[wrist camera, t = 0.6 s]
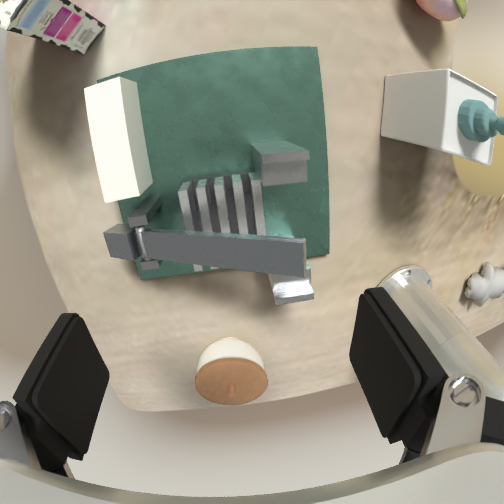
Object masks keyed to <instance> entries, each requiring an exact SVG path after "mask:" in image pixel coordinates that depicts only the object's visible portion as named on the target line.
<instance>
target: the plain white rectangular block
mask: <svg viewBox="0 0 504 504" xmlns="http://www.w3.org/2000/svg"><path fill="white" fill-rule="evenodd" d="M84 93H85V101H86V109H87V116H88V122H89V128H90V134H91V140H92V146H93V151H94V156H95V161H96V166H97V171H98V175H99V180H100V184H101V188H102V192H103V196H104V200H105V203H108V202H113V201H117V200H122V199H127V198H132V197H136V196H140V195H141V194H142V193H143V192H144V191H145V190H146V189H147V188H148V187H149V186H150V185H151V184H152V183H153V180H152V175H151V170H150V164H149V159H148V154H147V148H146V142H145V136H144V130H143V124H142V117H141V110H140V103H139V96H138V88H137V82H134V81H131V80H128V79H125V78H122V77H117V78H113V79H110V80H107V81H104V82H101V83H98V84H95V85H92V86H90V87H87V88H84Z"/></svg>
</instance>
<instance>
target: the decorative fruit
mask: <svg viewBox="0 0 504 504" xmlns="http://www.w3.org/2000/svg"><path fill="white" fill-rule="evenodd" d="M416 2H417V4H418V5H419V6H420V7H421V8H422V9H423V10H424V11H425V12H427V13H428V14H429V15H431V16H432V17H434V18H436V19H439V20H442V21H451V20H454V19H457V18H459V17H460V16H461V17H462V19H463V18H464V16H465V15H466V12H467V6H468V0H416Z"/></svg>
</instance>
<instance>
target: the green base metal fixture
mask: <svg viewBox="0 0 504 504" xmlns="http://www.w3.org/2000/svg"><path fill="white" fill-rule="evenodd" d="M117 77H122V78H125V79H128V80H131V81H134V82H137V88H138V96H139V103H140V110H141V117H142V124H143V130H144V136H145V142H146V148H147V154H148V159H149V164H150V170H151V175H152V180H153V183H152V184H151V185H150V186H149V187H148V188H147V189H146V190H145V191H144V192H143V193H142V194H141V195H140V196H136V197H132V198H127V199H122V200H118V202H119V206H120V210H121V214H122V218H123V222H124V224H129V226H130V228H131V227H136V226H142V225H144V226H145V228H148V229H167V230H185V231H203V232H219V233H235V234H250V235H265V236H280V237H294V238H306V257H311V256H318V255H324V254H329V182H328V159H327V141H326V127H325V114H324V103H323V92H322V83H321V74H320V65H319V57H318V50H317V47H267V48H251V49H240V50H230V51H222V52H214V53H207V54H201V55H194V56H189V57H183V58H178V59H173V60H168V61H164V62H159V63H155V64H151V65H147V66H143V67H139V68H136V69H132V70H128V71H125V72H122V73H118V74H115V75H112V76H109V77H106V78H103V79H100V80H97V84H98V83H101V82H104V81H107V80H110V79H113V78H117ZM135 263H136V266H137V269H138V273H139V276H140V279H141V280H145V279H152V278H160V277H168V276H175V275H183V274H190V273H198V272H205V271H212V270H220V269H226V268H218V267H210V266H202V265H195V264H187V263H179V262H172V261H164V260H157V259H151V260H149V261H144V258H142V255H141V256H140V257H138V258H137V259H135ZM267 274H268V273H267ZM268 278H269V281H270V285H271V289H272V293H273V296H274V300H275V304H276V305H281V304H288V303H294V302H300V301H306V300H312V299H314V292H313V290H312V288H311V268H310V266H309V265H308V263H307V273H306V275H305V277H304V278H303V277H294V276H285V275H276V274H268Z"/></svg>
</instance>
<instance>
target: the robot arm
mask: <svg viewBox="0 0 504 504" xmlns="http://www.w3.org/2000/svg"><path fill="white" fill-rule="evenodd" d="M349 356H350V361H351V364H352V366H353V368H354V371H355V373H356V375H357V377H358V380H359V382H360V384H361V387H362V389H363V391H364V394H365V396H366V398H367V401H368V403H369V405H370V408H371V410H372V413H373V415H374V418H375V420H376V422H377V425H378V427H379V430H380V432H381V434H382V436H383V437H384V438H386V437H387V438H388V440H389V443H390V444H392V443H395V442H398V441H400V440H402V441H403V444H404V446H405V448H404V453H403V455H402V458H401V460H400V462H399V465H396V466H393V467H390V468H387V469H384V470H381V471H378V472H375V473H372V474H368V475H365V476H361V477H357V478H353V479H349V480H345V481H341V482H338V483H333V484H328V485H324V486H319V487H314V488H308V489H302V490H297V491H289V492H282V493H274V494H266V495H265V494H264V495H253V496H237V497H184V496H169V495H158V494H149V493H141V492H133V491H126V490H121V489H115V488H110V487H105V486H100V485H96V484H91V483H87V482H83V481H79V480H75V478H74V476H73V474H72V472H71V470H70V468H69V466H68V463H67V461H66V460H67V457H69V458H72V459H76V460H80V461H82V460H83V456H84V454H86V453H87V451H88V448H89V444H90V441H91V437H92V433H93V430H94V426H95V423H96V419H97V416H98V412H99V410H100V406H101V403H102V400H103V397H104V394H105V390H106V387H107V384H108V381H109V371H108V369H107V367H106V365H105V363H104V361H103V359H102V357H101V355H100V353H99V351H98V349H97V347H96V345H95V343H94V341H93V339H92V337H91V335H90V333H89V331H88V328H87V326H86V324H85V322H84V320H83V318H81V317H80V316H79V315H78V314H77V313H63V314H61V315H60V317H59V318H58V320H57V321H56V323H55V324H54V326H53V328H52V329H51V331H50V332H49V334H48V336H47V337H46V339H45V340H44V342H43V344H42V345H41V347H40V348H39V350H38V352H37V354H36V355H35V357H34V359H33V361H32V362H31V364H30V366H29V368H28V369H27V371H26V373H25V375H24V377H23V378H22V380H21V382H20V384H19V386H18V388H17V390H16V392H15V394H14V396H13V399H14V400H15V401H16V402H17V404H16V406H14V405H13V404H12V403H11V402H9V401H1V402H0V504H504V367H502V366H501V365H500V364H499V363H498V362H497V361H496V360H495V359H494V358H493V357H492V356H491V355H490V353H489V352H488V351H487V350H486V349H485V348H484V347H483V346H482V344H481V343H480V342H479V341H478V340H477V339H476V337H475V336H474V335H473V334H472V333H471V332H470V331H469V329H468V328H467V327H466V326H465V325H464V324H463V323H462V321H461V320H460V319H459V318H458V317H457V316H456V315H455V314H454V313H453V311H452V310H451V309H450V308H449V307H448V306H447V305H446V304H445V303H444V302H443V301H442V300H441V299H440V298H439V296H438V295H437V294H436V293H435V292H434V291H433V290H432V280H431V277H430V275H429V273H428V272H427V271H426V270H425V269H423V268H422V267H420V266H417V265H408V266H404V267H401V268H399V269H397V270H395V271H393V272H392V273H390V274H389V275H388V276H387V277H386V278H385V279H384V280H382V282H381V283H380V284H379V285H378V287H375V288H369V289H366V290H365V291H364V294H361V295H360V297H359V303H358V309H357V315H356V321H355V326H354V332H353V337H352V342H351V347H350V353H349Z"/></svg>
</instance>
